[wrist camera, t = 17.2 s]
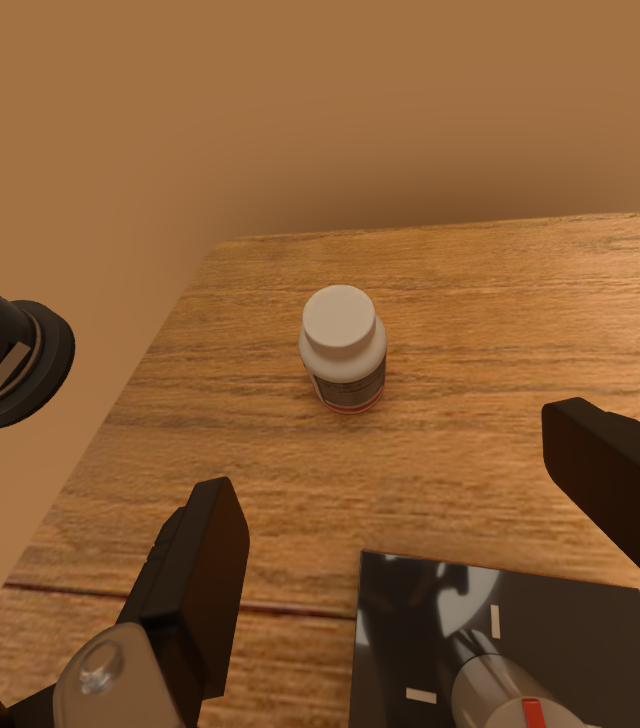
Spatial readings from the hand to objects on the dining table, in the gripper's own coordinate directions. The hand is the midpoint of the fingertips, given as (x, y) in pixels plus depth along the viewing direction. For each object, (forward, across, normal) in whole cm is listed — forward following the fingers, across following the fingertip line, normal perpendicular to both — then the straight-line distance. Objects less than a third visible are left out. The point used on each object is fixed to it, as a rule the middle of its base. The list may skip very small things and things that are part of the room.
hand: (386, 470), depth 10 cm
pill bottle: (+19, 0, +5) cm, 20 cm away
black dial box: (+5, -3, +19) cm, 20 cm away
